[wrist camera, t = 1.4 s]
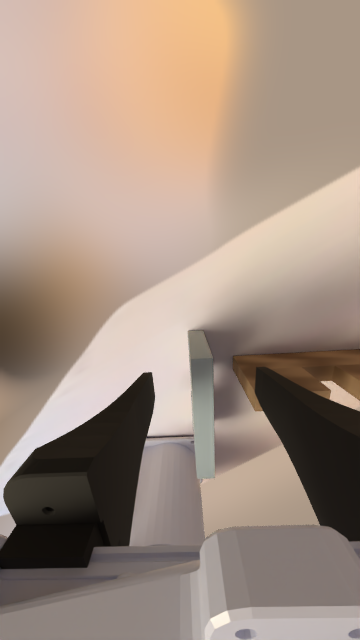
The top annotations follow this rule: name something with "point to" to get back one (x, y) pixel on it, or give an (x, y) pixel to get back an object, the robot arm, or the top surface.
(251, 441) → the top surface
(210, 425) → the pale green bar
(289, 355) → the walnut plate
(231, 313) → the top surface
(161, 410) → the top surface
